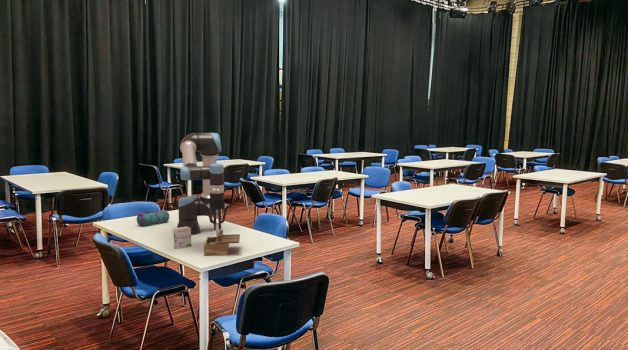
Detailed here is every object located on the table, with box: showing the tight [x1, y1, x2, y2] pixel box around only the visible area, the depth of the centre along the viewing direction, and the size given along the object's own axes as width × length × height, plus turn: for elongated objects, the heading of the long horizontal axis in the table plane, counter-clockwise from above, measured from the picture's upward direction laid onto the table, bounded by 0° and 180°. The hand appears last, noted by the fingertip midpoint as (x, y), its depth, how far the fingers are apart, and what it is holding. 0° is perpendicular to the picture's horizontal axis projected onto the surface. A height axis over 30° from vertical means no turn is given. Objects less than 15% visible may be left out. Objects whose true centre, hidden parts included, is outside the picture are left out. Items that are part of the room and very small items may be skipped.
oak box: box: [203, 236, 230, 257], centre depth 260 cm, size 16×12×7 cm
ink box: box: [172, 227, 192, 250], centre depth 269 cm, size 9×5×12 cm, turn 131°
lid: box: [215, 229, 241, 244], centre depth 260 cm, size 17×12×4 cm
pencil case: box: [136, 208, 170, 227], centre depth 330 cm, size 21×9×10 cm, turn 142°
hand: (217, 235), depth 259 cm, fingers closed
